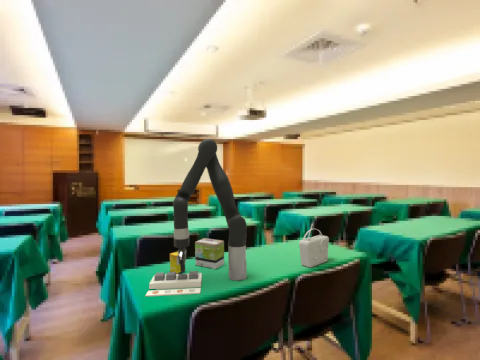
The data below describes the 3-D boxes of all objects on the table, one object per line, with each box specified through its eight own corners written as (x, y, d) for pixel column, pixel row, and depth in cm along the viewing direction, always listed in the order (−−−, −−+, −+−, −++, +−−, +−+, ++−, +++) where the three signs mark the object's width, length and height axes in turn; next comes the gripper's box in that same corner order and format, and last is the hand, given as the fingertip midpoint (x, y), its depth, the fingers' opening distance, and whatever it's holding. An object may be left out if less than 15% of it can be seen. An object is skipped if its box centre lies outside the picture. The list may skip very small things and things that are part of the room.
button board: (202, 278, 144) (201, 272, 144) (200, 287, 133) (200, 281, 133) (154, 280, 142) (154, 275, 142) (149, 289, 131) (149, 283, 131)
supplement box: (178, 269, 158) (177, 250, 158) (185, 271, 154) (184, 252, 154) (169, 272, 153) (169, 253, 153) (176, 275, 150) (176, 255, 149)
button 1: (198, 276, 141) (198, 270, 140) (197, 279, 136) (197, 273, 136) (189, 277, 140) (189, 271, 140) (189, 280, 136) (188, 274, 136)
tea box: (194, 265, 164) (194, 241, 164) (204, 260, 173) (204, 237, 173) (215, 269, 157) (215, 244, 157) (224, 264, 166) (224, 240, 166)
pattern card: (200, 288, 131) (200, 287, 131) (200, 293, 126) (200, 292, 126) (148, 291, 129) (148, 290, 129) (145, 296, 124) (145, 295, 124)
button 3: (176, 277, 140) (175, 271, 139) (174, 280, 135) (174, 274, 135) (167, 278, 139) (167, 272, 139) (166, 281, 135) (166, 275, 135)
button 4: (164, 278, 139) (164, 272, 139) (163, 281, 135) (163, 275, 135) (156, 278, 139) (156, 272, 139) (154, 281, 134) (154, 275, 134)
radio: (310, 269, 154) (309, 225, 154) (298, 266, 161) (298, 223, 160) (331, 261, 168) (331, 221, 167) (320, 258, 175) (319, 219, 174)
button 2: (187, 279, 140) (187, 273, 140) (186, 282, 136) (186, 276, 136) (178, 279, 140) (178, 274, 140) (177, 283, 136) (177, 277, 135)
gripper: (187, 239, 131) (189, 275, 131) (190, 233, 144) (191, 265, 145) (171, 240, 130) (173, 276, 131) (175, 234, 143) (177, 266, 144)
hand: (182, 270), depth 138 cm, fingers closed
